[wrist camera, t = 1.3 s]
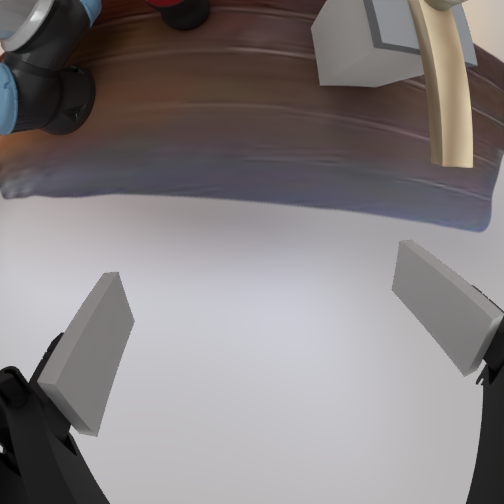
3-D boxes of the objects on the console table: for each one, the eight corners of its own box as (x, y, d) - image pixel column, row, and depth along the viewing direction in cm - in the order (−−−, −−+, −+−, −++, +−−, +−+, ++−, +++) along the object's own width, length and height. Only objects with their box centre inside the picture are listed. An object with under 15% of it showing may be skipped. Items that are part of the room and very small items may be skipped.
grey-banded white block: (317, 85, 42) (382, 42, 17) (308, 27, 37) (354, -53, 12) (378, 87, 42) (477, 65, 16) (368, 31, 37) (450, -24, 11)
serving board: (430, 162, 21) (470, 175, 15) (382, -62, 10) (403, -87, 5) (460, 164, 21) (500, 176, 15) (414, -52, 10) (439, -73, 5)
